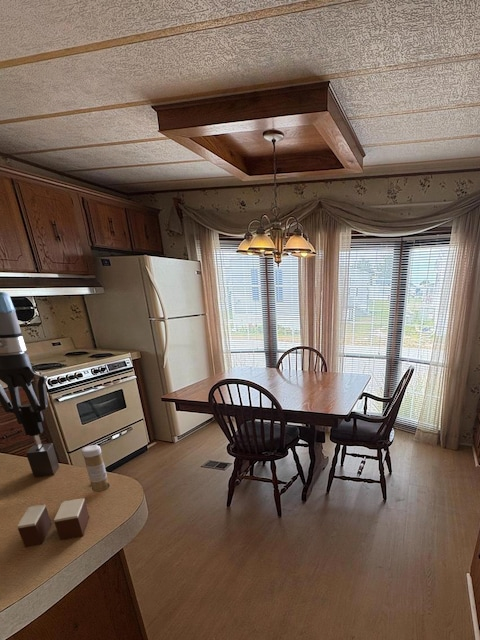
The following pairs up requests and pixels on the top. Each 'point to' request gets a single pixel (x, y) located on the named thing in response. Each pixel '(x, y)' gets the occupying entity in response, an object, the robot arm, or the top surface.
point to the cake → (71, 519)
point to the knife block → (43, 460)
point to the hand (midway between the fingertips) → (34, 432)
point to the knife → (31, 424)
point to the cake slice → (34, 525)
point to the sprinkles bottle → (95, 467)
